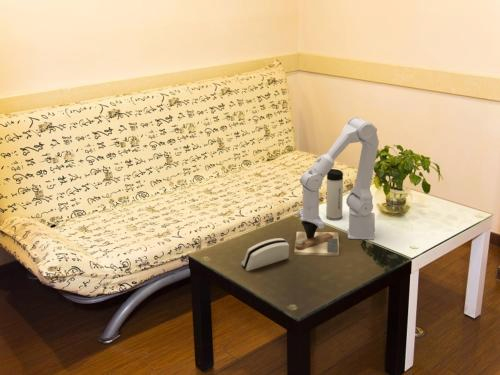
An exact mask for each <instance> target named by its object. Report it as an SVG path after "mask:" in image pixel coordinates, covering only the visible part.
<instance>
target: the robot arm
mask: <svg viewBox="0 0 500 375" xmlns="http://www.w3.org/2000/svg"><path fill="white" fill-rule="evenodd" d="M377 131H378V128H377V127H376V126H375V125H374V124H373V123H372V122H369V121H366V120H365V119H362V118H360V117H358V116H353V117H351V118H350V119H349V120H347V123H345V125H344V126H343V129H342V131H341V133H340V135H338V137H337V139H335V141H334V143H332V145H331V147H330V148H329V150H328V151H327V152H326V153H324V154H321V155H320V156H317V157H316V161H315V162H314V163H313V164H312V165H311V167H309V169H307V170H306V171H304V173H302V174H301V176H300V178H299V183H300V184H301V185H302V208H301V209H297V216H299V217H300V218H299V220H300V221H301V223H300V224H301V225H302V226H303V228H304V232H306V236H307V239H309V238H312V237H314V235H315V232H317V229H319V230H321V229H324V228H325V222H324V221H323V220H322V218H321V216H320V215H319V214H320V208H319V206H320V203H319V202H320V188H322V185H323V181H324V178H325V177H327V173H328V172H329V171H330V170H331V169H333V167H334V166H335V160H336V159H337V157H339V155H341V154H342V152H343V151H344V150H346V148H347V147H348V146H349V145H350V144H353V143H361V145H362V146H361V151H360V156H359V162H358V167H357V171H356V172H357V173H356V177H355V184H354V186H353V187H352V188H350V191H349V194H348V196H347V197H346V199H345V200H346V201H345V202H346V203H345V204H346V205H347V207H348V208H349V209H348V210H349V212H348V214H349V215H348V229H347V230H346V232H347V239H349V240H351V239H353V240H375V232H376V227H375V224H376V220H375V219H376V217H375V213H374V212H373V209H374V204H373V195H372V192H371V185H372V180H373V179H372V178H373V174H374V171H375V170H374V169H375V164H376V159H377V154H378V149H379V145H380V144H379V143H380V141H379V137H378V133H377Z"/></svg>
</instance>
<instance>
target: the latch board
mask: <svg viewBox="0 0 500 375" xmlns="http://www.w3.org/2000/svg"><path fill="white" fill-rule="evenodd" d="M325 233H329V234H331V235H333V239H338V253H333V252H327V245H328V241H326V242H323V243H320V244H317V245H314V246H310V247H307V248H305V249H302V250H299V249H296V248H295V247H294V253H293V255H295V256H297V255H298V256H327V257H328V256H329V257H331V256H333V257H334V256H335V257H339V256H340V242H339V232H329V231H328V232H327V231H323V232H322V231H315V235H314V237H316V236H319V235H322V234H325ZM306 239H307V236H306V232H305V231H296V236H295V243H296V242H298V241H303V240H306ZM295 243H294V244H295Z"/></svg>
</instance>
